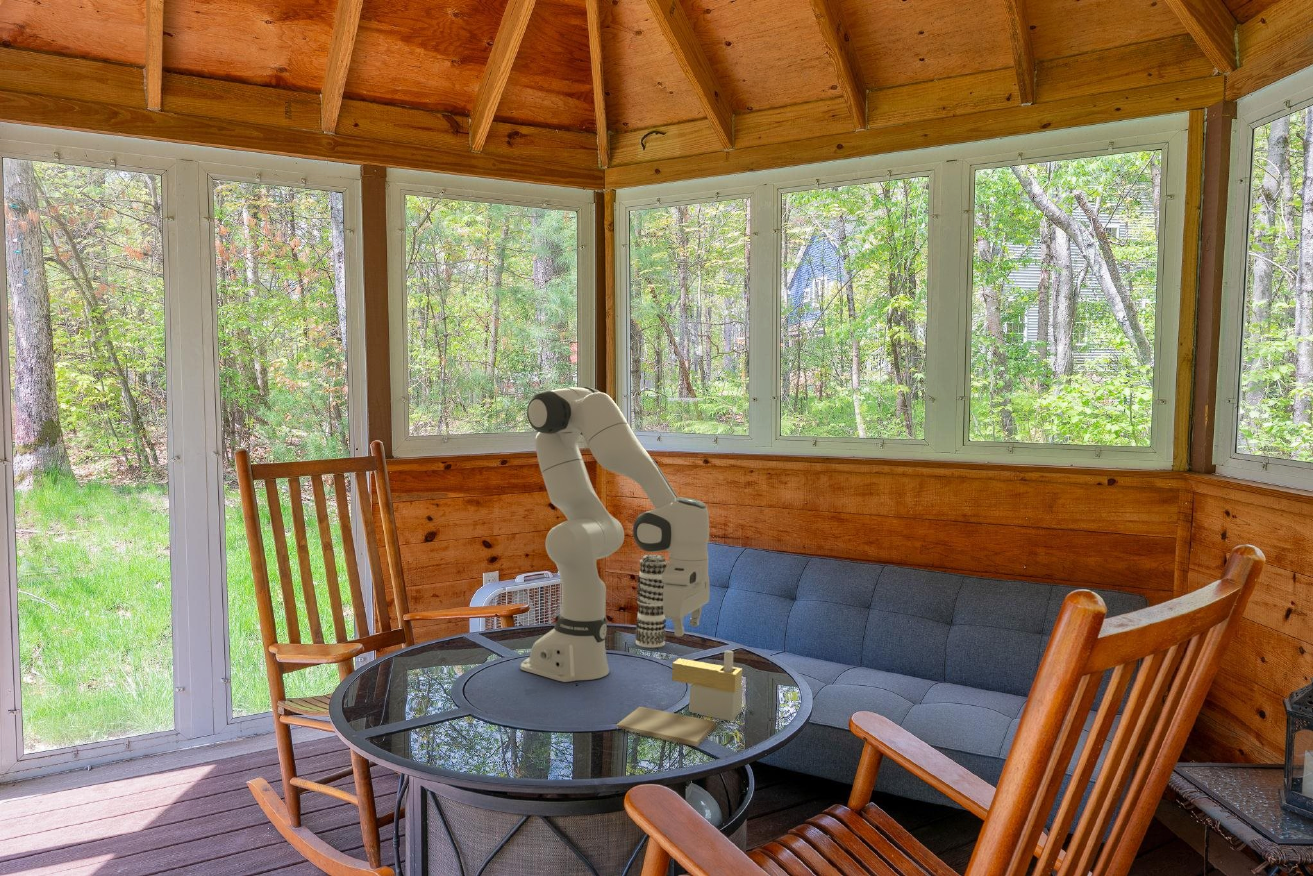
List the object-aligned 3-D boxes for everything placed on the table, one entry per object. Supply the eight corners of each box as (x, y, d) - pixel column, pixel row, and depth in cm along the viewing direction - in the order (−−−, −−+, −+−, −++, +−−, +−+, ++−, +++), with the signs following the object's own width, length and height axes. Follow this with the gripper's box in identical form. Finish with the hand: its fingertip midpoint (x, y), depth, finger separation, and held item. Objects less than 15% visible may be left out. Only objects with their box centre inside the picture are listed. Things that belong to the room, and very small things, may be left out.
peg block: (688, 712, 189) (691, 650, 189) (699, 702, 196) (702, 642, 195) (731, 721, 185) (734, 657, 185) (741, 710, 192) (744, 649, 191)
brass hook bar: (671, 681, 192) (671, 663, 192) (679, 674, 197) (680, 657, 196) (734, 692, 186) (735, 674, 186) (741, 686, 191) (742, 668, 191)
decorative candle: (631, 646, 238) (634, 557, 237) (637, 637, 247) (640, 552, 246) (663, 649, 236) (667, 560, 235) (668, 640, 245) (672, 554, 244)
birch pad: (616, 729, 178) (616, 724, 178) (639, 710, 189) (640, 706, 189) (696, 746, 171) (696, 741, 171) (716, 726, 182) (716, 721, 182)
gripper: (692, 561, 203) (690, 618, 204) (658, 576, 184) (656, 639, 185) (717, 564, 201) (715, 622, 201) (685, 579, 182) (683, 643, 182)
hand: (687, 630), depth 193 cm, fingers open, 8 cm apart
